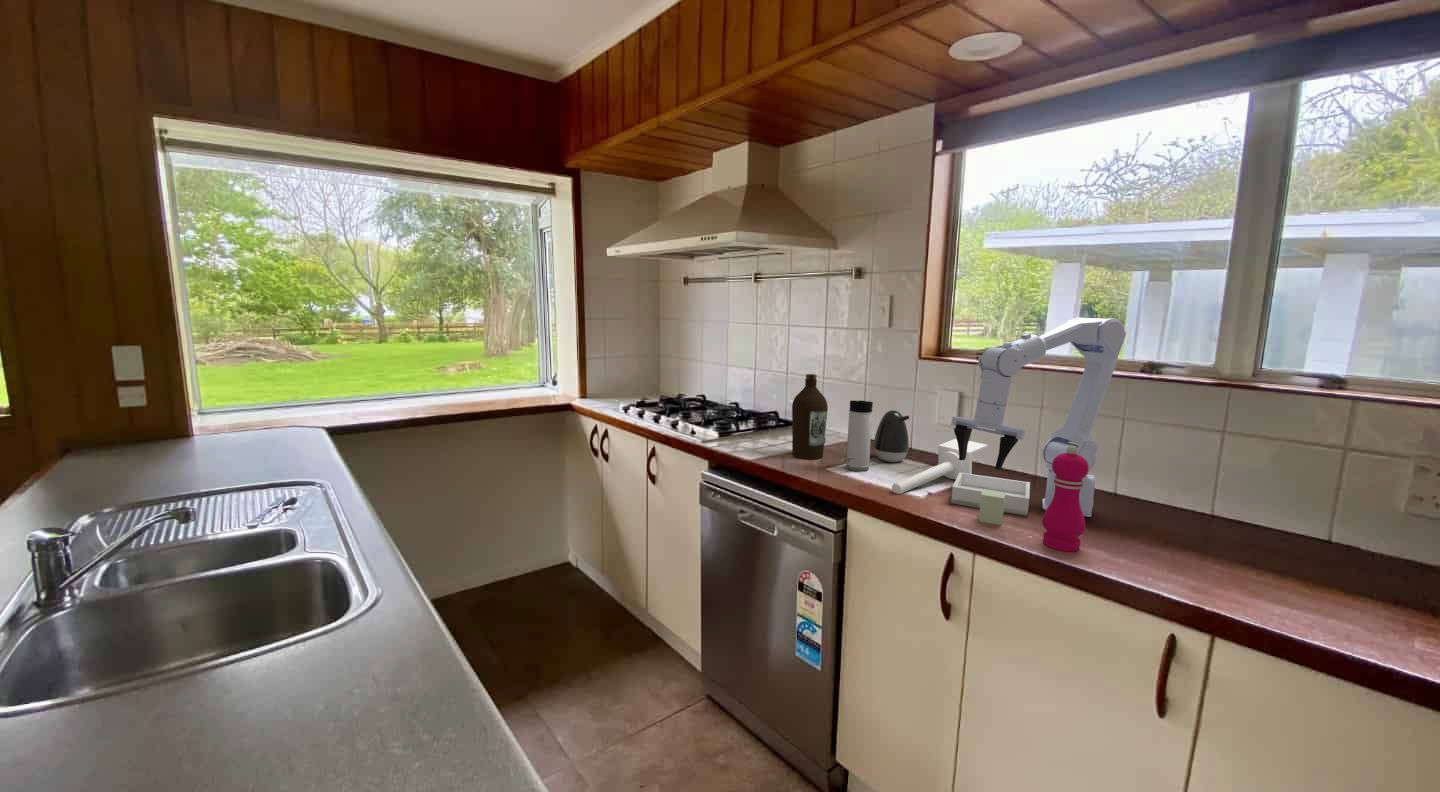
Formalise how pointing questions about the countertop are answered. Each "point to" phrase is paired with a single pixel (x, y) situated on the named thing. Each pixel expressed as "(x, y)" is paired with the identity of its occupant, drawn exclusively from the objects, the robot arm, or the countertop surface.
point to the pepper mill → (1066, 503)
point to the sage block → (992, 506)
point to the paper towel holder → (942, 466)
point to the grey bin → (972, 486)
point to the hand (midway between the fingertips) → (979, 464)
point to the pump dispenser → (892, 437)
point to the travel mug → (859, 435)
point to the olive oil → (809, 421)
